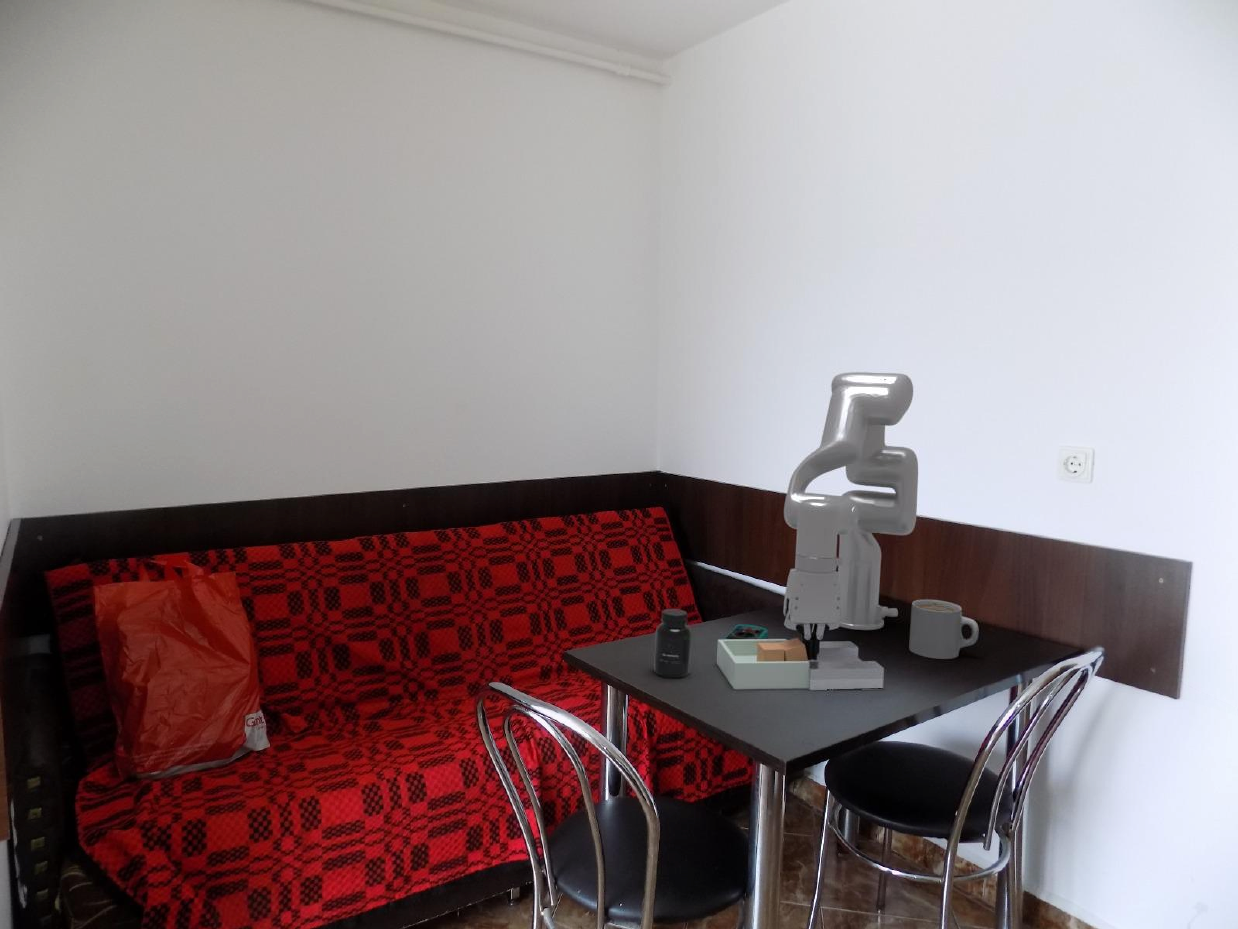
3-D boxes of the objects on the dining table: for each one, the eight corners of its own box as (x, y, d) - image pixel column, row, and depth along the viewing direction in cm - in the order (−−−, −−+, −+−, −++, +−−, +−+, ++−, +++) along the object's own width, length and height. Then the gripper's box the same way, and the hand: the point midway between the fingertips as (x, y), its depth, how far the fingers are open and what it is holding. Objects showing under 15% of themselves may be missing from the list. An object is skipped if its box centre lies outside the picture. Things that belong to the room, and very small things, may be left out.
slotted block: (849, 660, 172) (850, 641, 172) (882, 689, 156) (884, 668, 156) (783, 661, 170) (784, 641, 170) (809, 690, 155) (811, 669, 154)
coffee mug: (901, 651, 179) (904, 605, 178) (918, 641, 187) (921, 597, 186) (966, 666, 171) (970, 618, 170) (981, 655, 178) (985, 608, 177)
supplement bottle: (663, 681, 157) (666, 618, 156) (648, 669, 163) (650, 608, 162) (696, 676, 160) (698, 615, 159) (679, 665, 166) (681, 606, 165)
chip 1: (776, 662, 164) (777, 642, 163) (783, 669, 160) (784, 649, 159) (756, 663, 163) (757, 643, 163) (763, 670, 159) (764, 649, 159)
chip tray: (784, 662, 169) (785, 639, 169) (808, 688, 156) (809, 662, 155) (716, 663, 168) (717, 639, 167) (734, 689, 154) (735, 663, 154)
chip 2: (801, 656, 164) (797, 637, 163) (808, 664, 160) (804, 644, 159) (782, 662, 164) (777, 643, 163) (789, 670, 160) (784, 650, 159)
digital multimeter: (768, 639, 186) (769, 626, 186) (752, 659, 172) (752, 645, 172) (736, 634, 189) (737, 622, 189) (717, 653, 175) (718, 640, 175)
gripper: (844, 560, 165) (839, 651, 167) (771, 559, 163) (766, 652, 165) (860, 568, 158) (854, 664, 159) (783, 568, 156) (778, 664, 157)
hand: (809, 657), depth 162 cm, fingers closed
